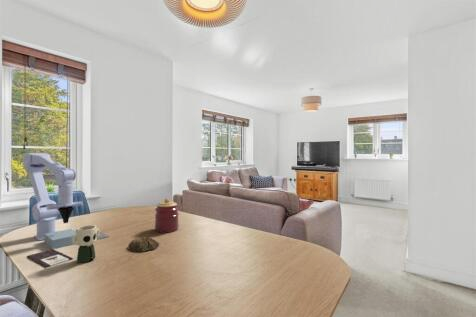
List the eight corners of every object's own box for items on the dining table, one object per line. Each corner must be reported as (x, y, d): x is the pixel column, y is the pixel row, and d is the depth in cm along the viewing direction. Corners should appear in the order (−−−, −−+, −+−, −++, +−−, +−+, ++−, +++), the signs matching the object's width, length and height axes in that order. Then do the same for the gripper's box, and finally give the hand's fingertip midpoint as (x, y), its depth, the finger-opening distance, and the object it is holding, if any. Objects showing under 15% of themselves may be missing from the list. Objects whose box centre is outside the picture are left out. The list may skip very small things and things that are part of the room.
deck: (44, 242, 119) (44, 233, 119) (71, 236, 128) (71, 228, 128) (52, 249, 110) (52, 240, 110) (80, 242, 119) (80, 234, 119)
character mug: (77, 267, 92) (77, 232, 92) (66, 263, 96) (66, 229, 96) (104, 256, 102) (104, 225, 102) (93, 253, 105) (93, 223, 105)
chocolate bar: (52, 249, 109) (72, 258, 100) (52, 251, 109) (72, 260, 100) (26, 255, 102) (46, 266, 92) (26, 258, 102) (46, 269, 92)
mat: (71, 235, 129) (71, 235, 129) (96, 230, 138) (96, 230, 138) (82, 242, 118) (82, 242, 118) (108, 236, 128) (108, 236, 128)
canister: (183, 228, 143) (183, 197, 143) (165, 234, 132) (165, 201, 132) (167, 225, 150) (167, 195, 150) (149, 230, 139) (149, 198, 139)
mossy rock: (125, 247, 113) (125, 236, 113) (150, 241, 122) (150, 230, 122) (137, 255, 105) (137, 243, 105) (164, 247, 114) (164, 236, 114)
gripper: (49, 197, 112) (49, 227, 112) (85, 193, 123) (85, 221, 123) (45, 195, 116) (45, 224, 116) (80, 192, 127) (80, 218, 128)
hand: (65, 222), depth 120 cm, fingers closed
